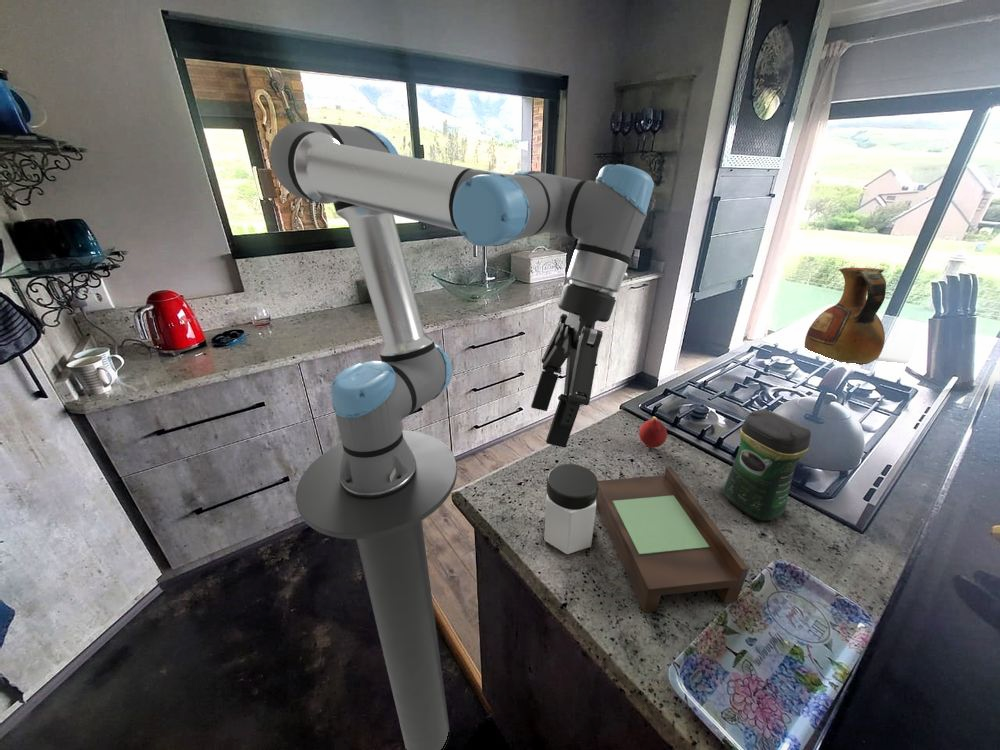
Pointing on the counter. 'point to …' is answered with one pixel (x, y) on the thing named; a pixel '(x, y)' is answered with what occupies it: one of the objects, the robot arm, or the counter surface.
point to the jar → (570, 507)
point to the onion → (653, 433)
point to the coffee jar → (765, 464)
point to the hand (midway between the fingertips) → (546, 425)
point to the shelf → (667, 539)
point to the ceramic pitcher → (852, 320)
